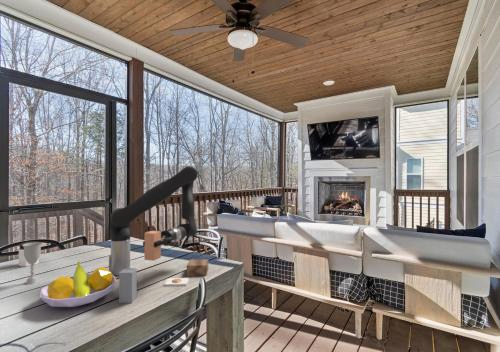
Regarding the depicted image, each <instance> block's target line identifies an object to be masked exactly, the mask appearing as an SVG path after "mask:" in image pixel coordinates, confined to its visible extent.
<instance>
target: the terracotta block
mask: <svg viewBox="0 0 500 352" xmlns="http://www.w3.org/2000/svg"><path fill="white" fill-rule="evenodd" d="M161 232H162V231H159V230H150V231H146V232H144V241H145V246H143V247H144V253H143V254H144V256H143V257H144V260H145V261H154V262H155V261H156V260H159V259H160V258H161V257H162V246H158V247H154V242H157V241H160V240H161Z"/></svg>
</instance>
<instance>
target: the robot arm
mask: <svg viewBox="0 0 500 352" xmlns="http://www.w3.org/2000/svg"><path fill="white" fill-rule="evenodd" d="M198 173H199V172H198V170H197V168H196V167H194V166H192V165H190V166H189V165H188V166H185V167H184V168H182V169H181V170H180V171H179V172H177V173H176V174H175V175H173V176H172V177H170V178H169V179H166V180H164V181H162V182H159V183H158V184H156V185H155V186H152V188H150V189H148V190H147V191H144V193H143V194H141V196H140V197H138V198H137V199H136V200H135V201H133V202H132V203H130V204H128V205H126V206H124V207H118V208H115V209H114V210H112V212H111V214H110V223H109V224H110V227H109V228H110V254H109V256H108V270H109V271H110V272H111V273H112V275H114V276H119V273H120V272H121V271H122V270H123V269H125V268H131V225H130V224H131V222H133V221H134V220H135V219H137V218H138V217H140V215H142V214H144V213H145V212H147V211H149V210H151V209H153V208H154V207H156V206H157V205H159V204H161V203H162V202H164V201H165V200H166V199H168V198H169V197H171V196H172V195H173V194H174V193H175V192H176V191H178V190H179V189H181V210H180V212H181V213H180V214H181V217H180V218H181V219H183V220H186V221H187V223H181V224H178V225H177V226H176V227H171V228H168V229H164V230H163V231H161V240H160V241H157V242H154V247H158V246H161V247H162V246H164V247H167V246H170V245H173V244H176V243H178V242H179V241H181V240H182V239H184V238H186V237H194V236H196V234H197V232H198V227H197V223H196V220H195V219H196V217H195V200H194V192H193V191H194V182H195V180H197V177H198V175H199V174H198ZM144 246H145V240H144V241H143V242H142V247H144Z"/></svg>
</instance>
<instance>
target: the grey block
mask: <svg viewBox="0 0 500 352" xmlns="http://www.w3.org/2000/svg"><path fill="white" fill-rule="evenodd" d="M137 272H138V268H137V267H136V268H135V267H133V268H131V267H130V268H125V269H123V270H122V271H121V272H120V273H119V275H118V280H119V281H118V286H119V287H118V289H119V290H118V304H133V302H134V301H135V300H136V299H137V294H138V293H137V289H138V288H137V285H138V284H137V283H138V282H137V277H138V275H137V274H138V273H137Z"/></svg>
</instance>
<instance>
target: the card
mask: <svg viewBox="0 0 500 352" xmlns="http://www.w3.org/2000/svg"><path fill="white" fill-rule="evenodd" d="M189 280H190V278H189V277H175V278H173V277H172V278H171V277H170V278H168V277H167V279H166V280H165V282H164V284H163V286H164V287H171V286H172V287H174V286H175V287H176V286H177V287H178V286H181V287H182V286H184V287H185V286H187V285H188V282H189Z"/></svg>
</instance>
